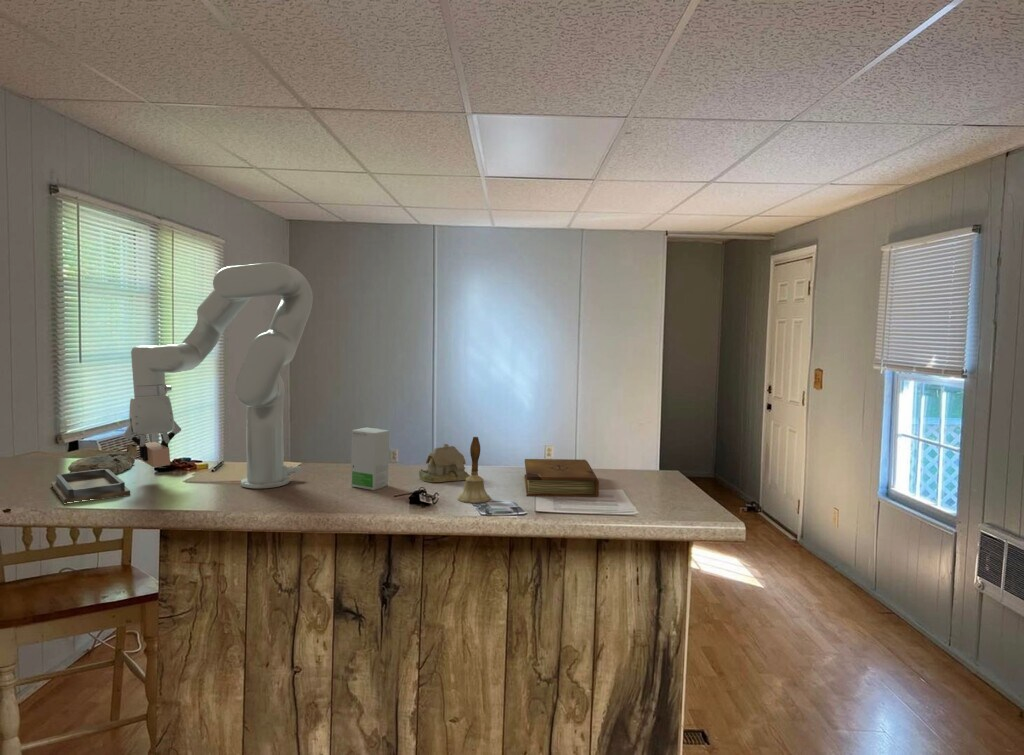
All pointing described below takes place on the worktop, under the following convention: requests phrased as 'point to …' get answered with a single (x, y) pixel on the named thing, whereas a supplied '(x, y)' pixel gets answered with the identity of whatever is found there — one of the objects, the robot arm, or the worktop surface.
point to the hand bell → (474, 479)
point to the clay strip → (157, 455)
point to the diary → (560, 478)
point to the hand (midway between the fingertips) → (154, 458)
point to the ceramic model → (444, 465)
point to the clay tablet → (104, 462)
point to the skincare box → (370, 458)
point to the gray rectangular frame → (89, 485)
